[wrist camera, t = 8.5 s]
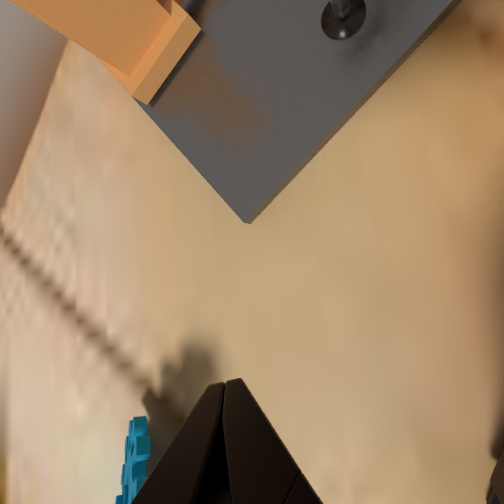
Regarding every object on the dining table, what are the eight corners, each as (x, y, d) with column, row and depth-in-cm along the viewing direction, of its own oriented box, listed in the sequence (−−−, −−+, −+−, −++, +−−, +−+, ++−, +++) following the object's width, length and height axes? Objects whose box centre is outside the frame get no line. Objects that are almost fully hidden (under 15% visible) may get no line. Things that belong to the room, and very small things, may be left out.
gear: (125, 385, 24) (125, 535, 15) (205, 381, 26) (245, 510, 18) (108, 498, 27) (100, 679, 18) (181, 486, 29) (205, 642, 20)
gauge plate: (467, -6, 17) (505, -127, 11) (250, 223, 22) (202, 217, 16) (248, -156, 21) (198, -297, 16) (107, 64, 26) (31, 16, 21)
